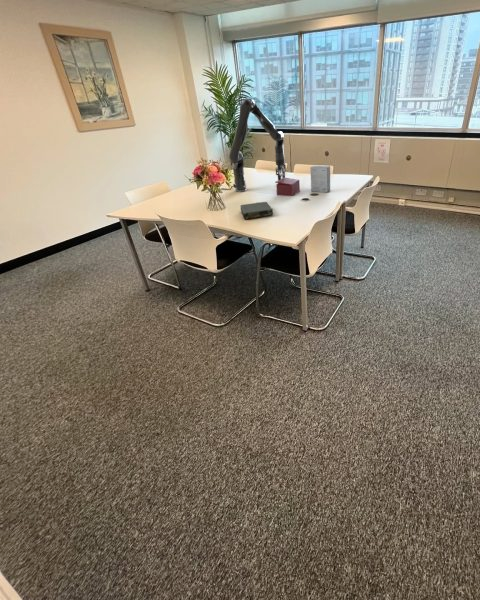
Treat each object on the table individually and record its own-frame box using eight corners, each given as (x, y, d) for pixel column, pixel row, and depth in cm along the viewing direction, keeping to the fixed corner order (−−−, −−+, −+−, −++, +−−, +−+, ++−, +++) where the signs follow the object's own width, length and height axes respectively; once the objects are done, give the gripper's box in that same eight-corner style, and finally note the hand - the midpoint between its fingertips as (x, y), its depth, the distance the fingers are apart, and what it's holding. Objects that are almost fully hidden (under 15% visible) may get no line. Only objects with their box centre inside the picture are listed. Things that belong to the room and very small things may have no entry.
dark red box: (277, 194, 272) (276, 184, 267) (285, 190, 284) (284, 179, 279) (292, 196, 267) (291, 185, 262) (299, 191, 278) (299, 180, 273)
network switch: (245, 221, 221) (244, 214, 219) (237, 211, 239) (236, 205, 237) (276, 215, 229) (276, 208, 226) (266, 206, 247) (265, 200, 244)
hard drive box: (330, 190, 276) (330, 165, 265) (327, 192, 270) (327, 167, 259) (314, 188, 282) (313, 165, 271) (310, 191, 276) (310, 167, 265)
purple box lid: (275, 182, 267) (275, 175, 263) (283, 178, 278) (283, 171, 275) (291, 185, 262) (291, 178, 258) (299, 180, 273) (299, 173, 270)
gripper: (279, 156, 268) (281, 176, 277) (272, 160, 258) (273, 180, 267) (287, 156, 266) (289, 177, 275) (280, 160, 255) (281, 181, 264)
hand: (281, 178), depth 271 cm, fingers open, 8 cm apart
